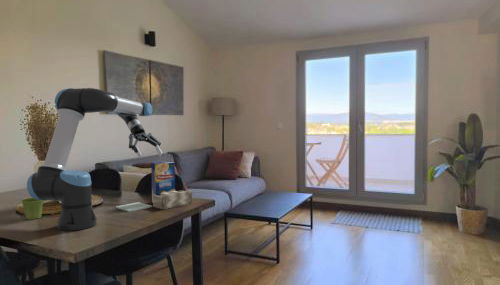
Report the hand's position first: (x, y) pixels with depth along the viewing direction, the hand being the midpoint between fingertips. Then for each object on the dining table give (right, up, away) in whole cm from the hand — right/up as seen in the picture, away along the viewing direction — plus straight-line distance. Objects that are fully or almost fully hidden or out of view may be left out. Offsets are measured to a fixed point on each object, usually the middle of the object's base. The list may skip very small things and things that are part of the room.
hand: (151, 155), depth 206 cm
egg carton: (+16, -26, -14) cm, 34 cm away
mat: (-4, -26, -19) cm, 33 cm away
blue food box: (+9, -26, -7) cm, 28 cm away
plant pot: (-44, -28, -39) cm, 65 cm away
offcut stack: (+15, -25, -14) cm, 32 cm away
